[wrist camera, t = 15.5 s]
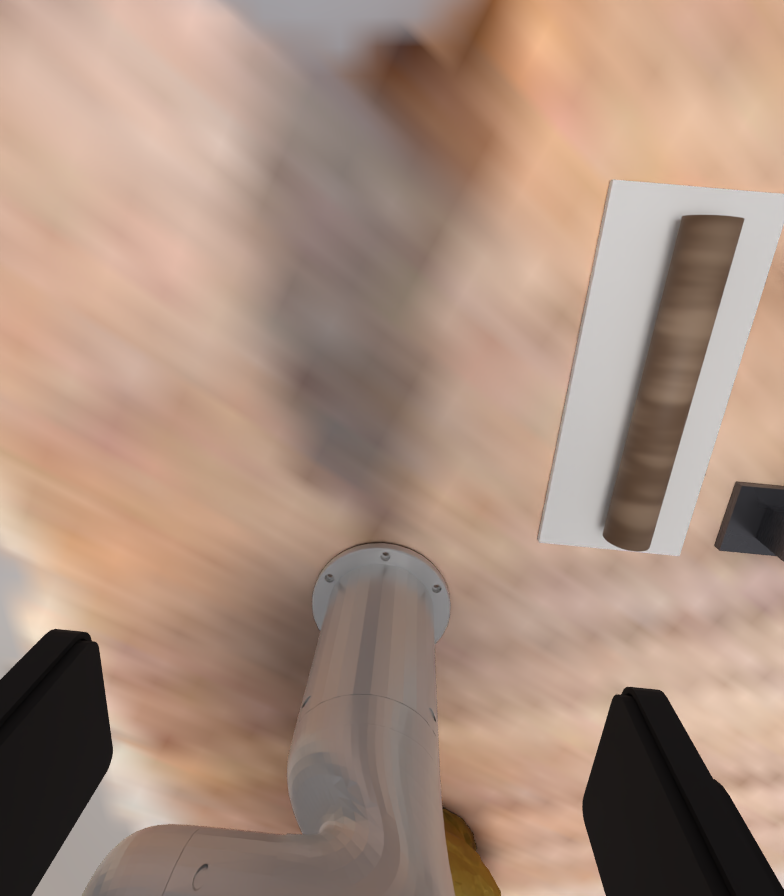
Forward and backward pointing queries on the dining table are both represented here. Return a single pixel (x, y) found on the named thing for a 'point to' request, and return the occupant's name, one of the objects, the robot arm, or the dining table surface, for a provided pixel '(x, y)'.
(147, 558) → the dining table surface
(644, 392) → the rod
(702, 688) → the dining table surface
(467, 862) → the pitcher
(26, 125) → the dining table surface
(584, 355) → the mat
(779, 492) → the rack
